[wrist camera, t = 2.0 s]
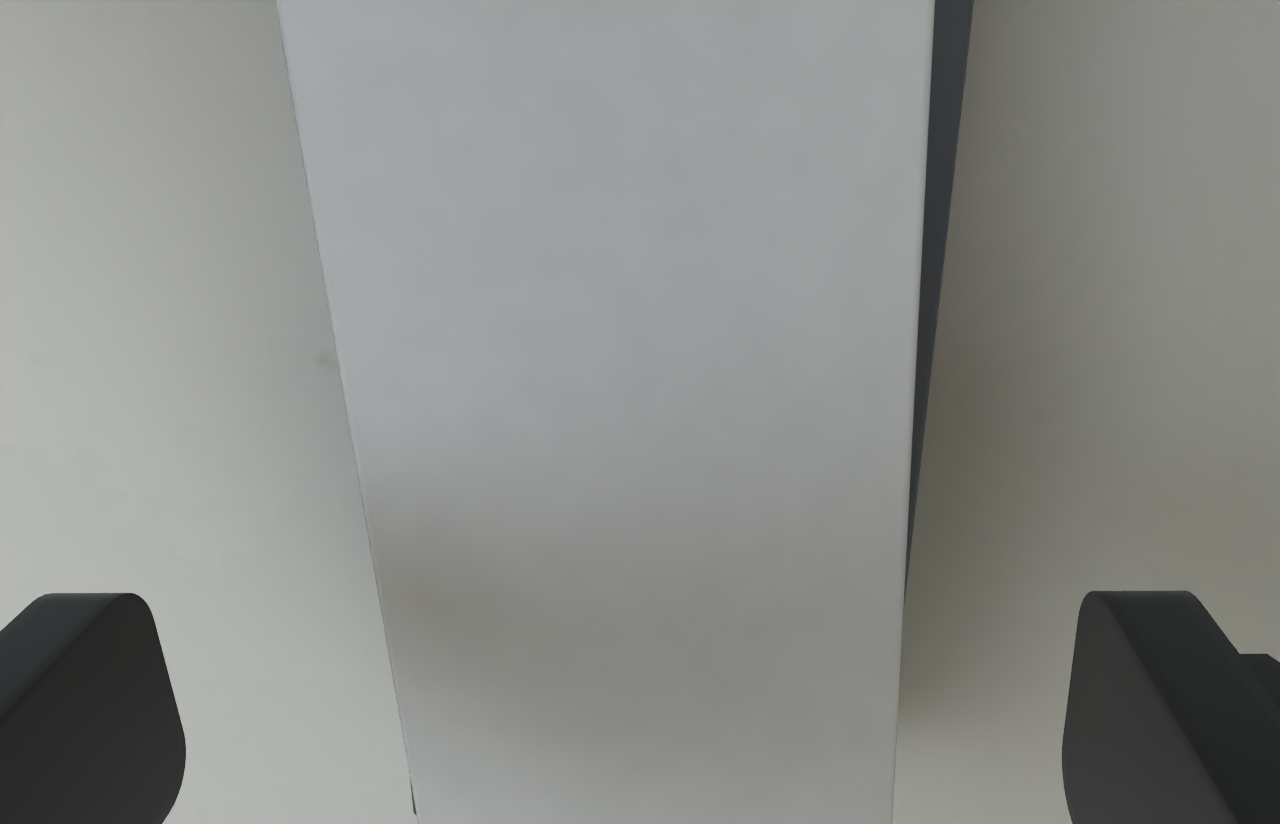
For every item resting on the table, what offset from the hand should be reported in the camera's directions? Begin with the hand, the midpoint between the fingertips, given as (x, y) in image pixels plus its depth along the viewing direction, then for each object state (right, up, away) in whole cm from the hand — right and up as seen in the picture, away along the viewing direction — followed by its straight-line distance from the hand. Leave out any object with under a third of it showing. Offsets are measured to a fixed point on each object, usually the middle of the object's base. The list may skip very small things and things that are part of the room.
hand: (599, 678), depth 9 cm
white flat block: (0, +2, +4) cm, 5 cm away
